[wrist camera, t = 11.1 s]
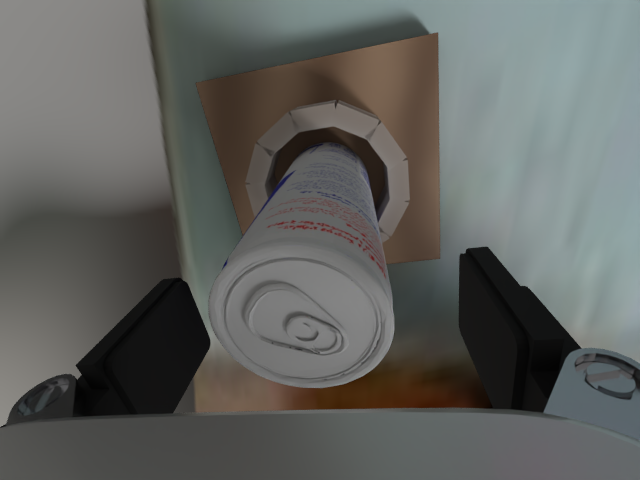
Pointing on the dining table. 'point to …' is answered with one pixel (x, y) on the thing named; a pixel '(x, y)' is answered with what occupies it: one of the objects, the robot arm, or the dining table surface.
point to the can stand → (340, 132)
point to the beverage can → (309, 278)
